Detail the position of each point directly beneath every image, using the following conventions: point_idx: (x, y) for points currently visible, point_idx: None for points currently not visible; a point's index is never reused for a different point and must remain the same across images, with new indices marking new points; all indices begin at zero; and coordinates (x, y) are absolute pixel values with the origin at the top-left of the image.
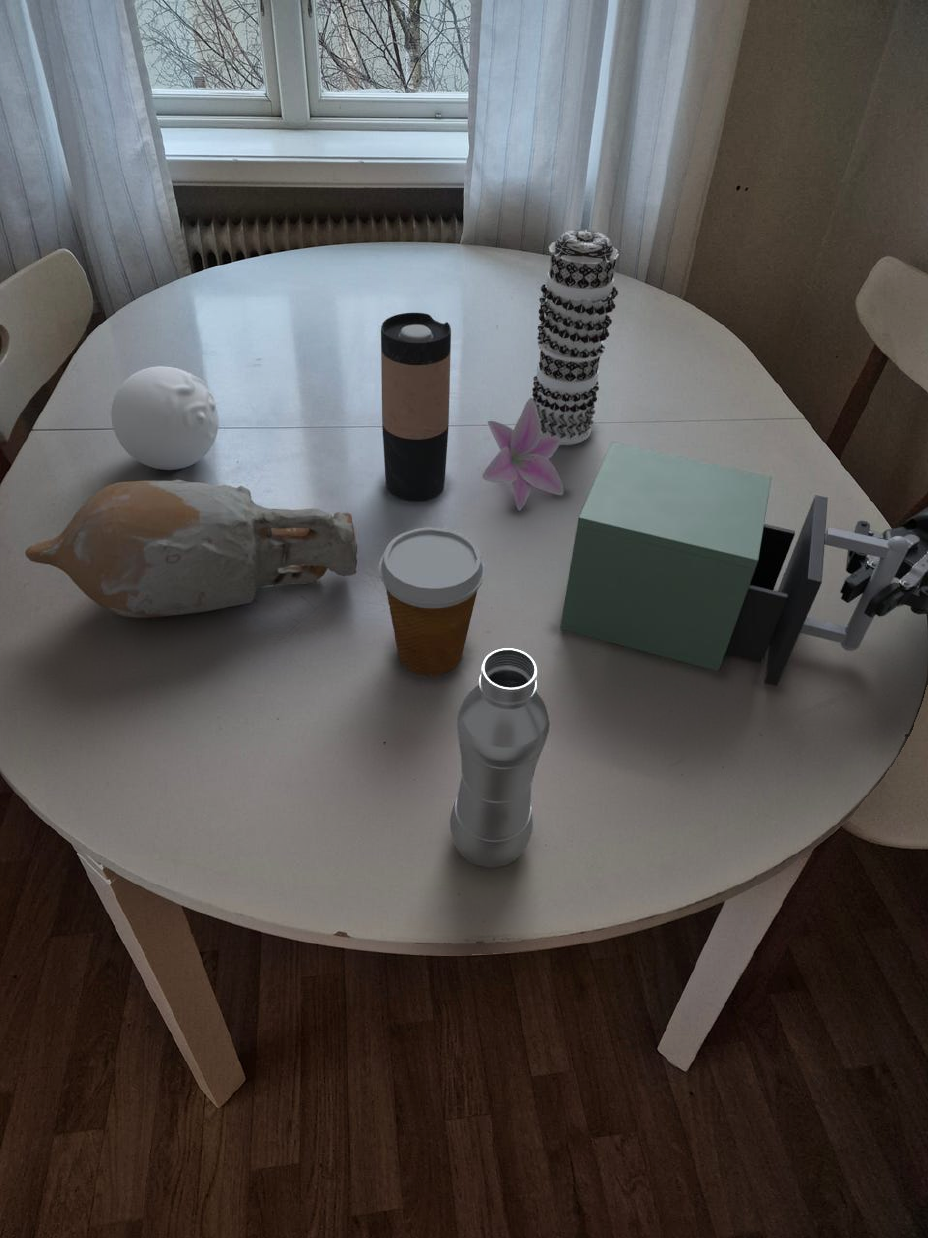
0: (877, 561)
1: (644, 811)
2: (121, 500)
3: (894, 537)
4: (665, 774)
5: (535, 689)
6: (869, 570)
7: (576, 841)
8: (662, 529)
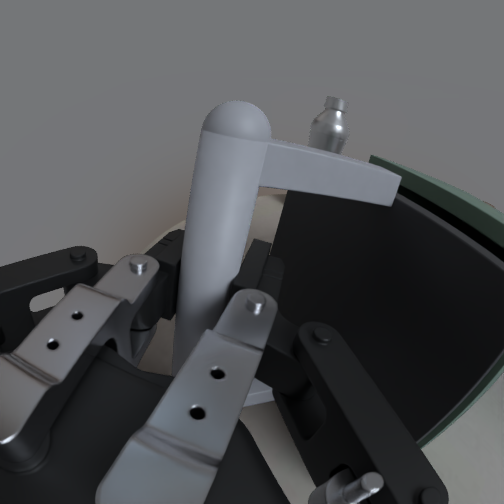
0: (250, 316)
1: (264, 225)
2: (486, 202)
3: (262, 113)
4: (270, 241)
5: (327, 103)
6: (252, 281)
7: (279, 213)
8: (445, 183)
